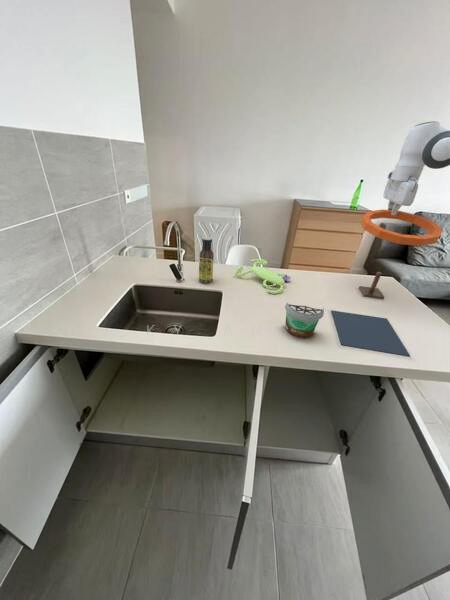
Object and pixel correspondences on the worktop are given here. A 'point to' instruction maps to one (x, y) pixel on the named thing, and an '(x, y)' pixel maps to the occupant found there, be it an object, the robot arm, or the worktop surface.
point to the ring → (396, 237)
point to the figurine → (266, 275)
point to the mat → (367, 333)
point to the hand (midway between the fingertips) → (390, 213)
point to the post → (372, 289)
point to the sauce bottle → (206, 261)
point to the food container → (302, 320)
